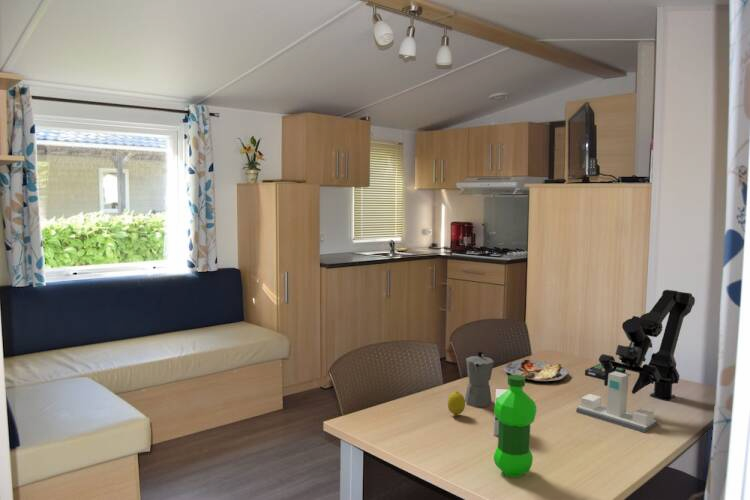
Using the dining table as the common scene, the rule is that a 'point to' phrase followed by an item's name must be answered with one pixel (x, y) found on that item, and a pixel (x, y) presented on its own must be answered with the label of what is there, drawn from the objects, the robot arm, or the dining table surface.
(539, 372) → the food plate
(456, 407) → the lemon
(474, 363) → the coffeepot
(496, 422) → the ink box
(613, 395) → the block
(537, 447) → the dining table surface
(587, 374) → the disk drive
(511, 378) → the plastic bottle
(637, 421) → the rail board
